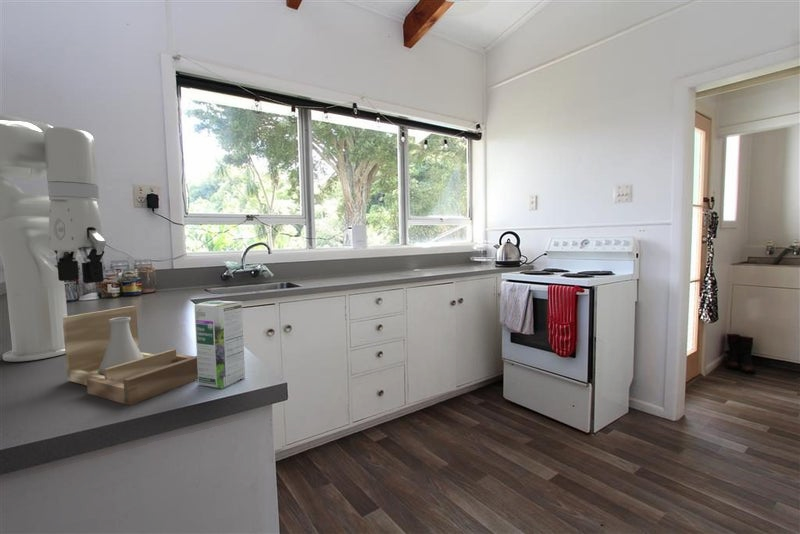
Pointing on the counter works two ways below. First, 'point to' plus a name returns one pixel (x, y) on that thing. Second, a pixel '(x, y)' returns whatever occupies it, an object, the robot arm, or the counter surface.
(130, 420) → the counter surface
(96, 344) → the wooden tablet stand
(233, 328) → the syrup box
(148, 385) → the bay
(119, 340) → the flask
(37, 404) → the counter surface
